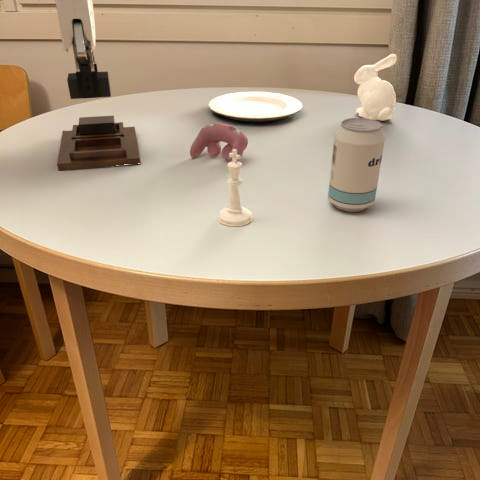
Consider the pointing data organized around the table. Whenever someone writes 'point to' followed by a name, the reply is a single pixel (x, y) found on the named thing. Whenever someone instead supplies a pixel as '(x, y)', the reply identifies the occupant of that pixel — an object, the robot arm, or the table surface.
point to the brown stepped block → (98, 144)
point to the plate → (255, 106)
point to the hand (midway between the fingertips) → (90, 92)
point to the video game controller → (212, 138)
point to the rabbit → (375, 91)
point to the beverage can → (356, 164)
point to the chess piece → (234, 197)
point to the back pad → (102, 82)
